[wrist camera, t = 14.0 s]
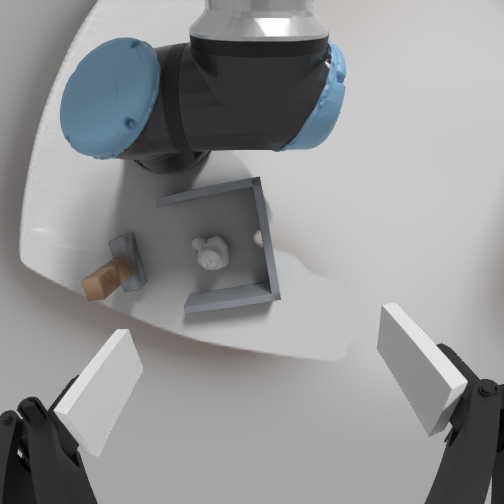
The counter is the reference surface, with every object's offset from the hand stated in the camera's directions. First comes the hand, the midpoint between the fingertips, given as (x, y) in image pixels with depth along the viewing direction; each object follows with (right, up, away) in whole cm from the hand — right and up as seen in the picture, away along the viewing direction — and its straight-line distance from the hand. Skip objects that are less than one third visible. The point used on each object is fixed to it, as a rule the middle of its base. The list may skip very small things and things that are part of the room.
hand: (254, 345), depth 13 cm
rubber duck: (-7, +5, +32) cm, 33 cm away
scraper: (-21, +3, +32) cm, 39 cm away
